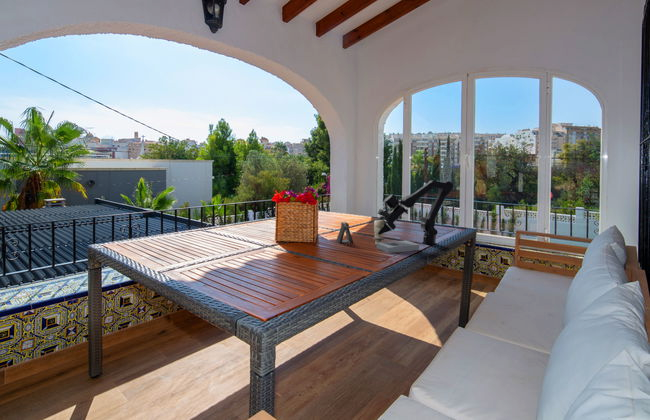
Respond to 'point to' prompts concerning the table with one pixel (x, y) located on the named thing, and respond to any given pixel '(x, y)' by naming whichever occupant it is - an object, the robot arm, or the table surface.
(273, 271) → the table surface
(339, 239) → the grey a-shaped frame
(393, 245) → the grey slab with hole
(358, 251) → the table surface
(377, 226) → the ash peg
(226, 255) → the table surface
